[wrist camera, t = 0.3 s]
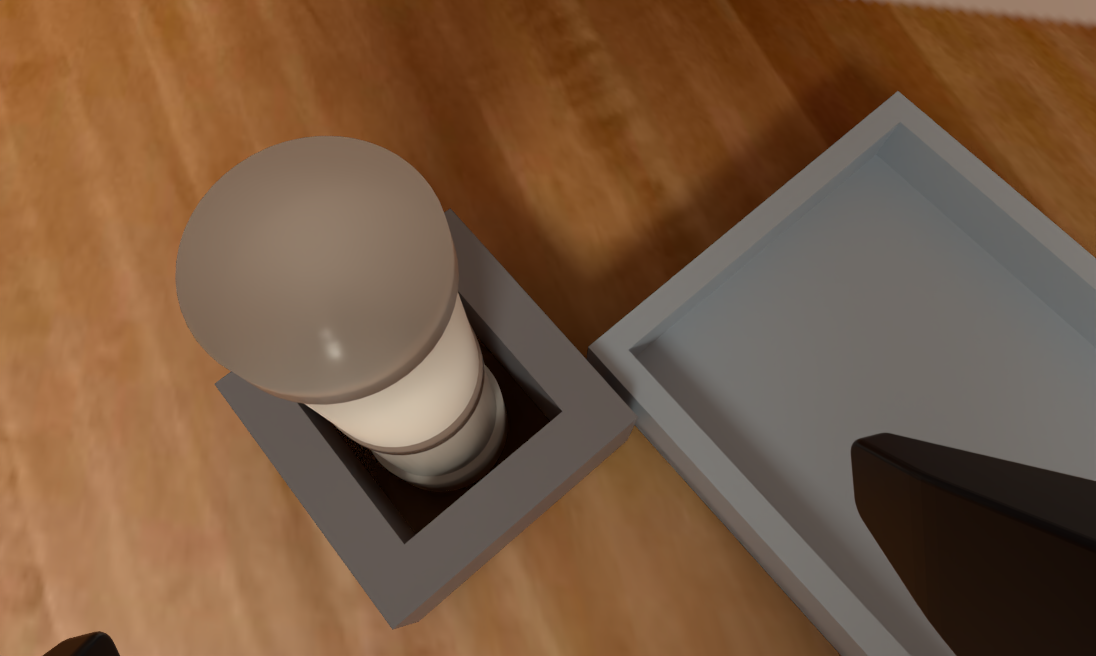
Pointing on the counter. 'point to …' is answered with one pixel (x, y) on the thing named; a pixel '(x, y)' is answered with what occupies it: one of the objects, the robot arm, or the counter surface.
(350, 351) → the beige banded cylinder
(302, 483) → the holder
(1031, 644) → the robot arm
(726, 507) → the parts tray
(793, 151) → the counter surface
